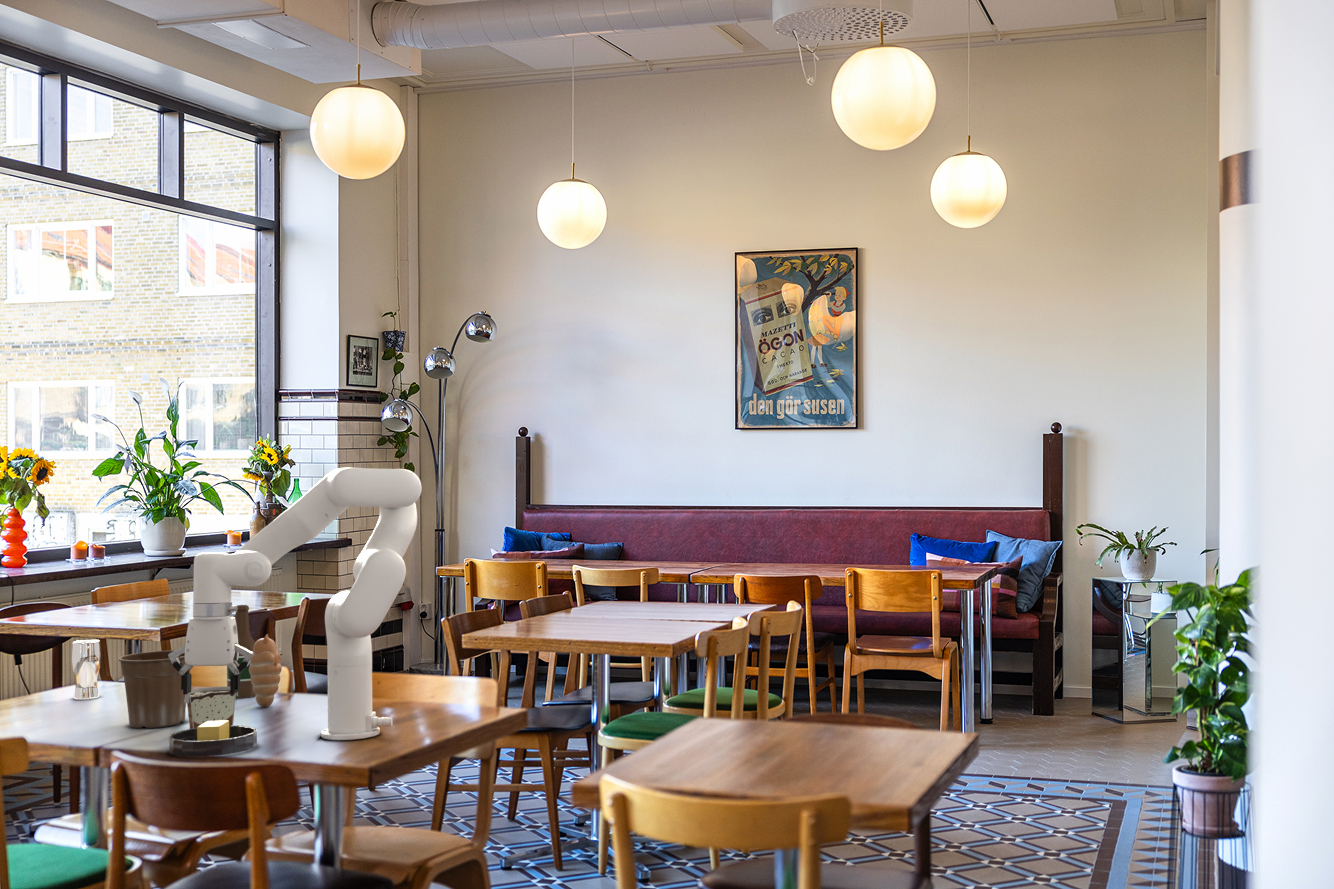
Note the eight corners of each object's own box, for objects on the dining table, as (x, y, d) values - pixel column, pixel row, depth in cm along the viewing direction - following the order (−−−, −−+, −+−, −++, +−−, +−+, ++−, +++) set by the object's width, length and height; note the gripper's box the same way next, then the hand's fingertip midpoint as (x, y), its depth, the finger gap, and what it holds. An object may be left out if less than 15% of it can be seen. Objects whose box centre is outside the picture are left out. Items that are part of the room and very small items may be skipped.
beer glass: (82, 695, 343) (81, 639, 343) (106, 695, 342) (105, 639, 342) (66, 700, 336) (66, 643, 336) (90, 700, 335) (90, 643, 335)
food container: (223, 728, 290) (223, 684, 291) (238, 731, 286) (238, 686, 287) (173, 737, 281) (172, 691, 281) (187, 740, 277) (187, 694, 277)
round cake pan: (266, 740, 275) (265, 724, 275) (243, 757, 258) (243, 740, 258) (185, 743, 274) (184, 726, 274) (157, 759, 257) (157, 742, 257)
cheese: (229, 743, 270) (229, 720, 270) (219, 750, 263) (219, 726, 263) (207, 744, 269) (207, 720, 269) (197, 751, 262) (197, 726, 262)
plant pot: (138, 733, 286) (137, 661, 287) (106, 725, 297) (106, 656, 298) (206, 722, 298) (205, 653, 299) (173, 715, 309) (173, 648, 310)
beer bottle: (230, 694, 340) (230, 604, 341) (260, 693, 341) (260, 603, 342) (223, 699, 333) (223, 607, 334) (254, 698, 334) (253, 606, 334)
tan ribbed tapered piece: (281, 709, 315) (280, 636, 316) (247, 711, 313) (247, 637, 314) (282, 703, 324) (282, 632, 325) (250, 705, 322) (250, 633, 323)
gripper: (258, 609, 271) (257, 690, 270) (176, 609, 270) (174, 691, 269) (248, 612, 264) (247, 695, 263) (163, 612, 263) (162, 696, 262)
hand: (210, 693), depth 266 cm, fingers open, 9 cm apart
